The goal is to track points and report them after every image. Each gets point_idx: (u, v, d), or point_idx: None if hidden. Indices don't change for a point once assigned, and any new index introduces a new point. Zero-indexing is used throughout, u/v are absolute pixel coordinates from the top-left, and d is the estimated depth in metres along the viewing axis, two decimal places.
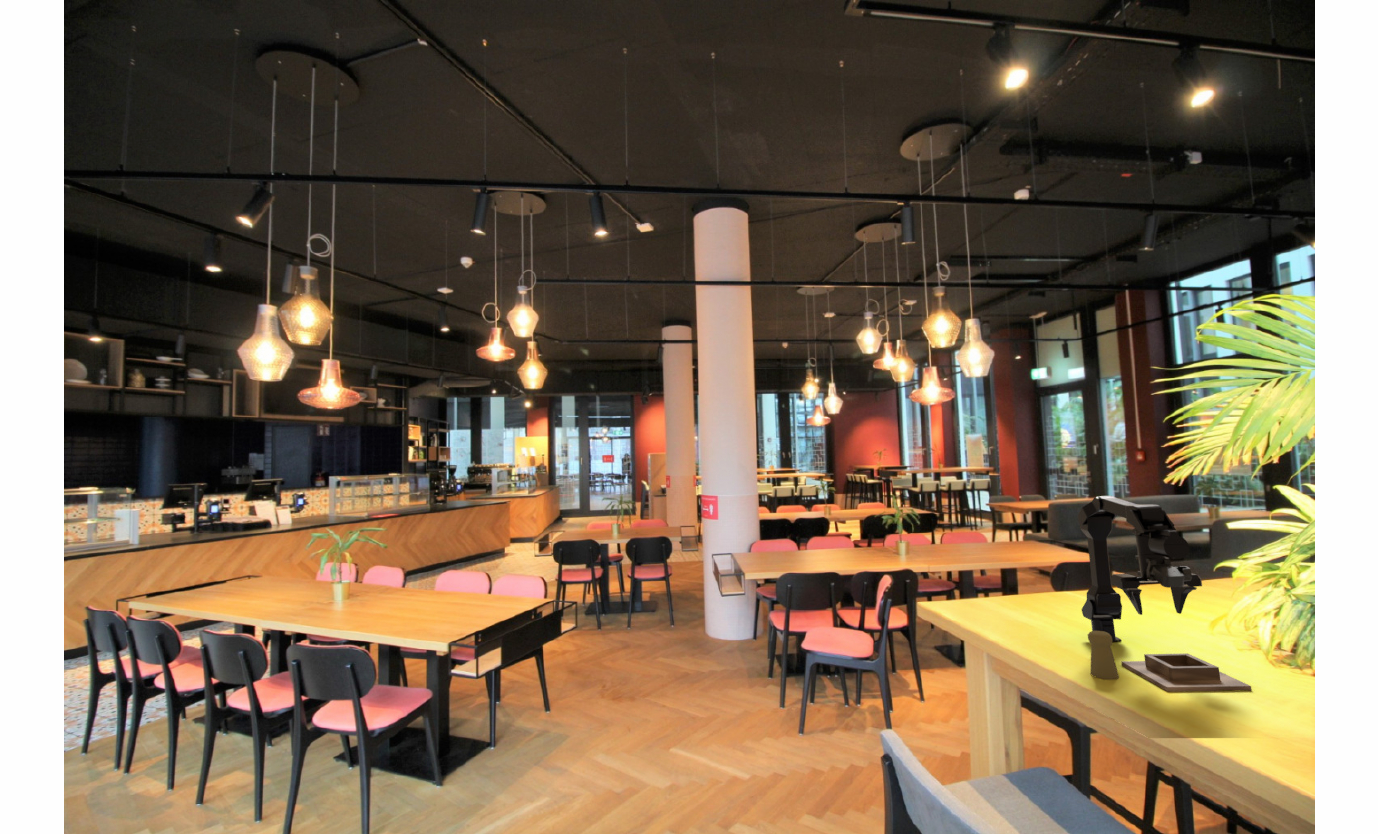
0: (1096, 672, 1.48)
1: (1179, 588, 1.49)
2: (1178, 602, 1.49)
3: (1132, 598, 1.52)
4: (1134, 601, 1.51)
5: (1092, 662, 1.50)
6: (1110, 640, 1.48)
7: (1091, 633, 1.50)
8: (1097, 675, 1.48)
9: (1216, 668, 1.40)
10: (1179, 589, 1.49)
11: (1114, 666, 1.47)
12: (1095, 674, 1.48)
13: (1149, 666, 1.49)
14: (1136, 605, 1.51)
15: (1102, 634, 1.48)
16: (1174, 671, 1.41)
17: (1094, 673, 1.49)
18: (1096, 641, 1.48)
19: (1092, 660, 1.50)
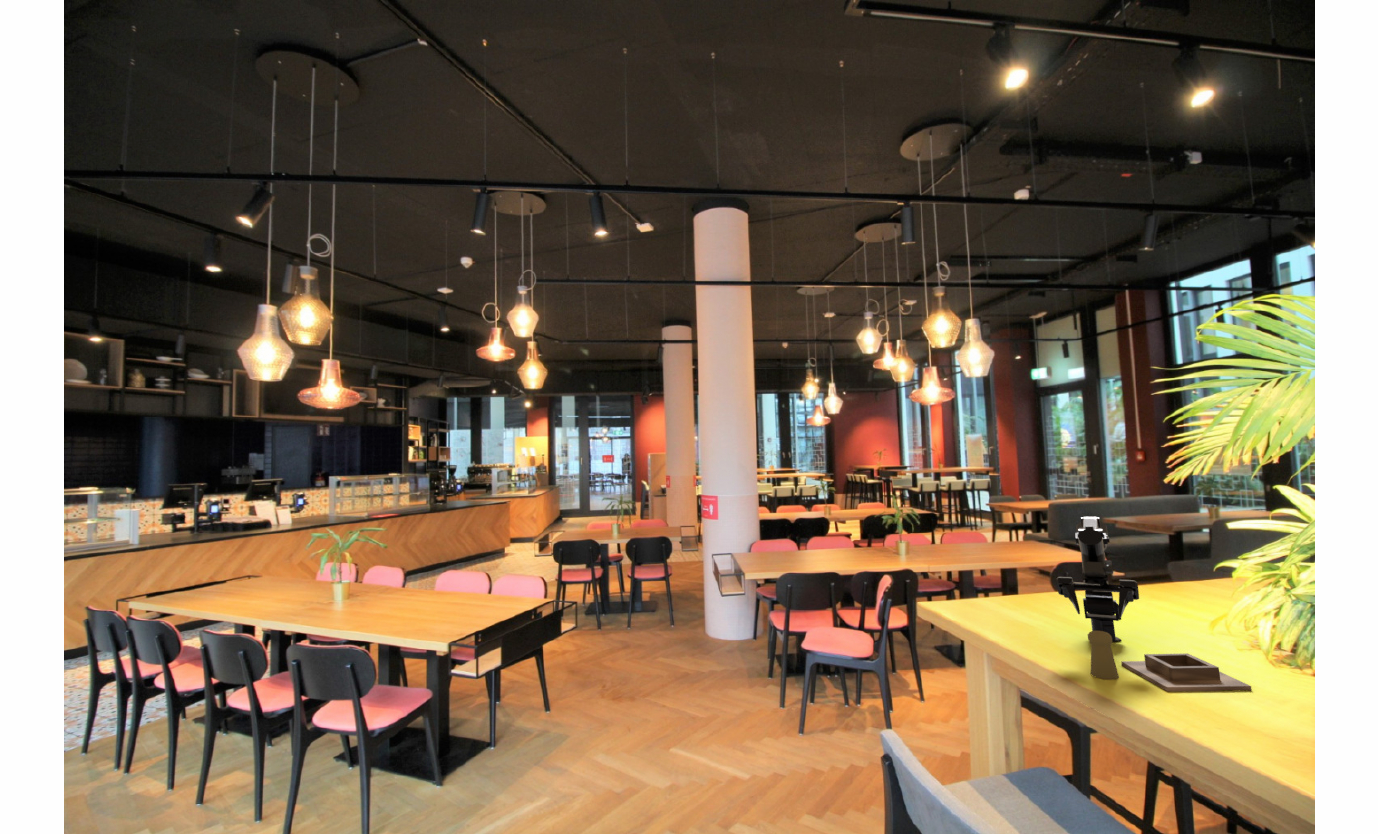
0: (1096, 672, 1.48)
1: None
2: (1118, 606, 1.56)
3: (1073, 600, 1.63)
4: (1072, 601, 1.62)
5: (1092, 662, 1.50)
6: (1110, 640, 1.48)
7: (1091, 633, 1.50)
8: (1097, 675, 1.48)
9: (1216, 668, 1.40)
10: (1119, 594, 1.57)
11: (1114, 666, 1.47)
12: (1095, 674, 1.48)
13: (1149, 666, 1.49)
14: (1074, 605, 1.61)
15: (1101, 634, 1.48)
16: (1174, 671, 1.41)
17: (1094, 673, 1.49)
18: (1096, 641, 1.48)
19: (1092, 660, 1.50)
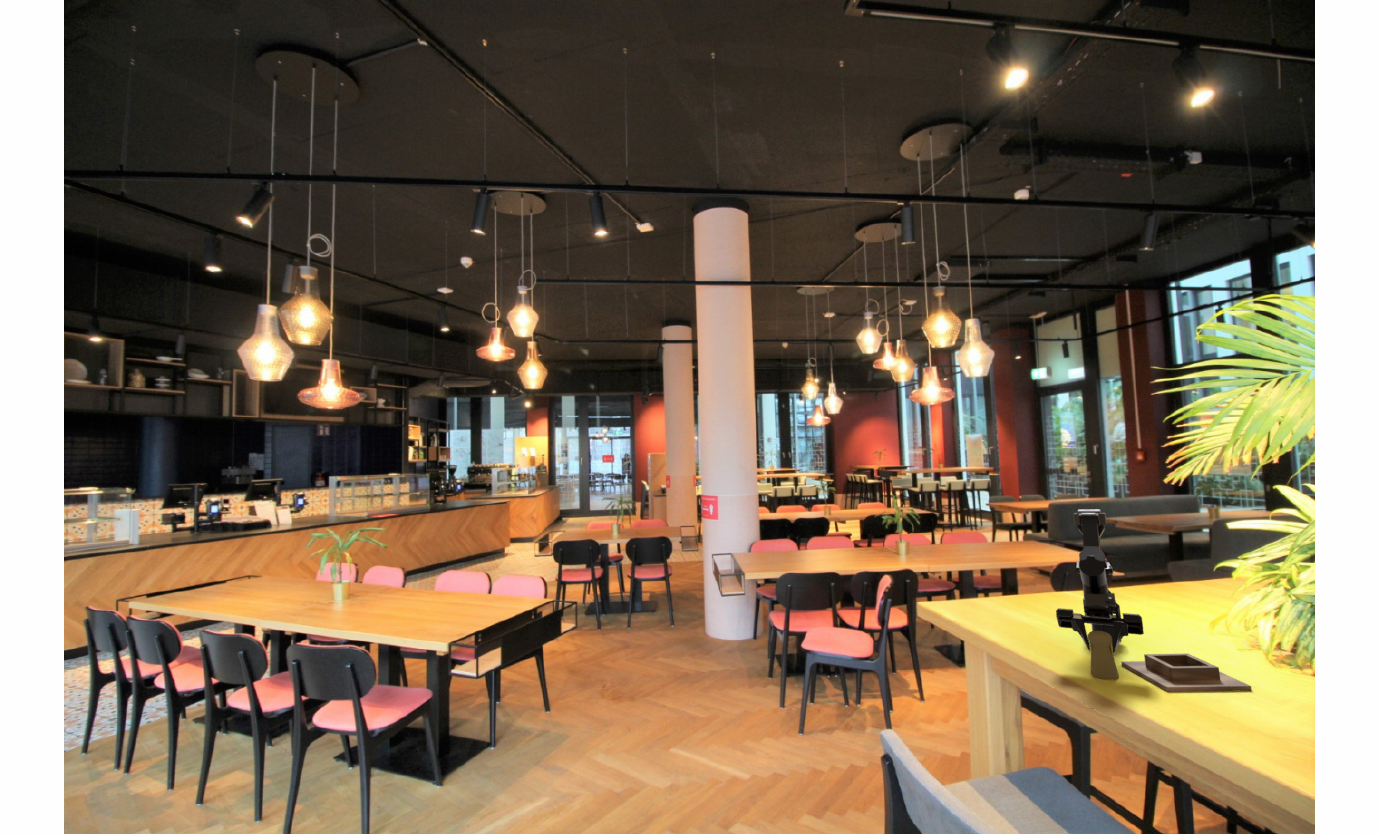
0: (1096, 672, 1.48)
1: None
2: None
3: None
4: (1082, 636, 1.53)
5: (1092, 662, 1.50)
6: (1110, 640, 1.48)
7: (1091, 633, 1.50)
8: (1097, 675, 1.48)
9: (1216, 668, 1.40)
10: (1113, 628, 1.50)
11: (1114, 666, 1.47)
12: (1095, 674, 1.48)
13: (1149, 666, 1.49)
14: (1084, 640, 1.52)
15: (1101, 634, 1.48)
16: (1174, 671, 1.41)
17: (1094, 673, 1.49)
18: (1096, 641, 1.48)
19: (1092, 659, 1.50)
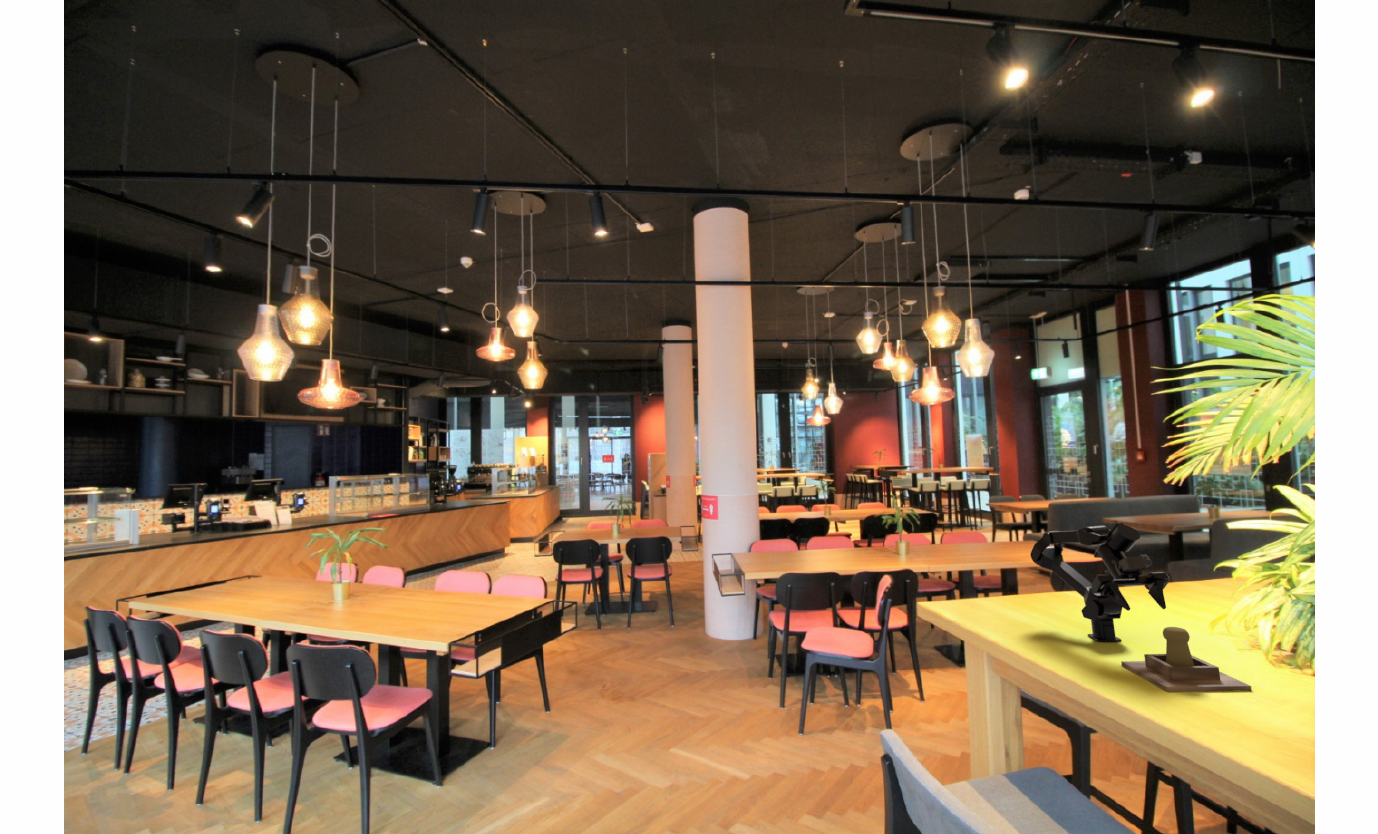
0: None
1: (1153, 586, 1.62)
2: (1159, 598, 1.60)
3: (1116, 597, 1.62)
4: (1118, 598, 1.61)
5: (1173, 661, 1.44)
6: None
7: (1170, 630, 1.45)
8: None
9: (1216, 668, 1.40)
10: (1154, 587, 1.62)
11: (1192, 662, 1.44)
12: None
13: (1149, 666, 1.49)
14: (1121, 602, 1.61)
15: (1182, 630, 1.44)
16: (1174, 671, 1.41)
17: None
18: (1180, 638, 1.44)
19: (1174, 658, 1.44)
